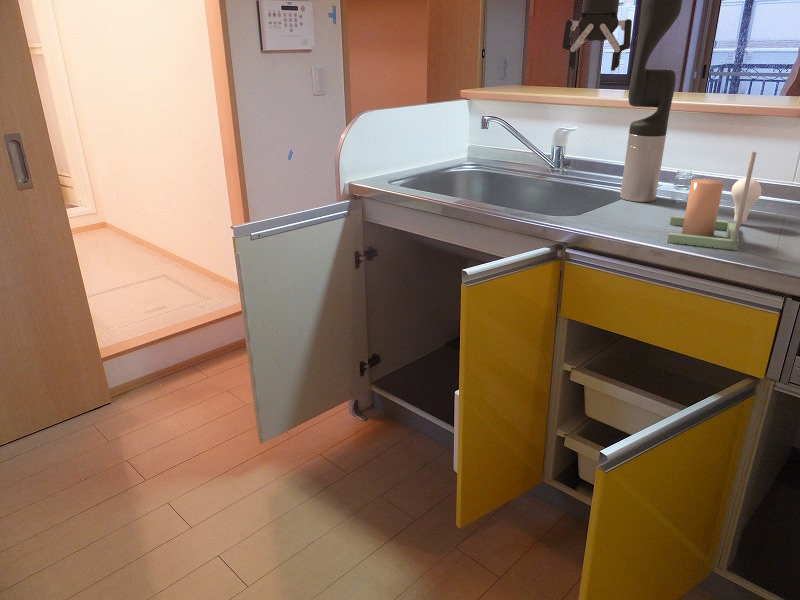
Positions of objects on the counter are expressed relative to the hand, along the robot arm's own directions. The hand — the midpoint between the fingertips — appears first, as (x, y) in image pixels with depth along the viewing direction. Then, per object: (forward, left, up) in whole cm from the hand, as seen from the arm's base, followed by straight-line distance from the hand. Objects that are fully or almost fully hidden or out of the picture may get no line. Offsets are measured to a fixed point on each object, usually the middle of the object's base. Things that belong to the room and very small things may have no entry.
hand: (593, 70), depth 140 cm
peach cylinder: (+5, +27, -34) cm, 44 cm away
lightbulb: (-9, +36, -34) cm, 50 cm away
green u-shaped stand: (+5, +27, -34) cm, 44 cm away
